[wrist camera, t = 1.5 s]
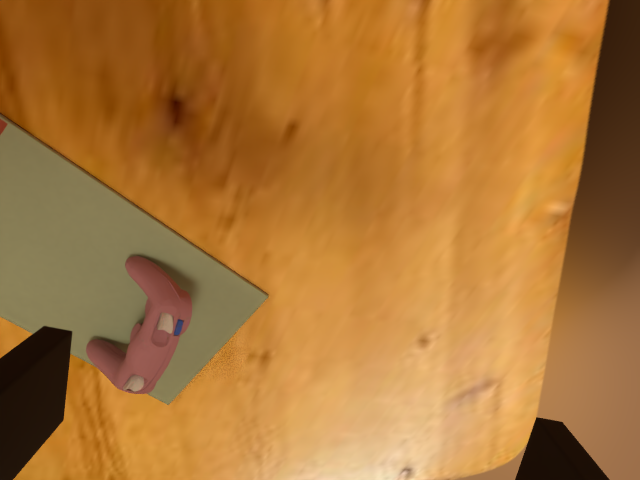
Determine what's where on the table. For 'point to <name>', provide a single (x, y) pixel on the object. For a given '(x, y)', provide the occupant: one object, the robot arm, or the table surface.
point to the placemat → (101, 262)
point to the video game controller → (146, 332)
